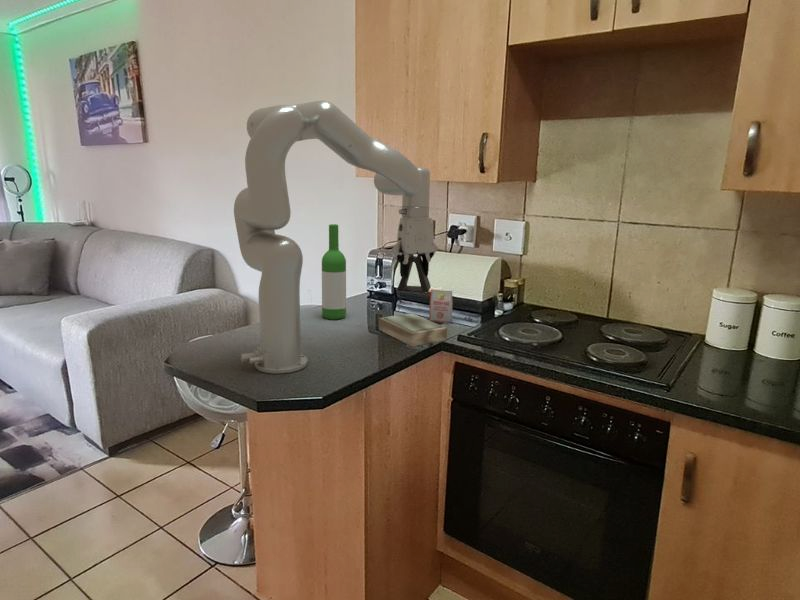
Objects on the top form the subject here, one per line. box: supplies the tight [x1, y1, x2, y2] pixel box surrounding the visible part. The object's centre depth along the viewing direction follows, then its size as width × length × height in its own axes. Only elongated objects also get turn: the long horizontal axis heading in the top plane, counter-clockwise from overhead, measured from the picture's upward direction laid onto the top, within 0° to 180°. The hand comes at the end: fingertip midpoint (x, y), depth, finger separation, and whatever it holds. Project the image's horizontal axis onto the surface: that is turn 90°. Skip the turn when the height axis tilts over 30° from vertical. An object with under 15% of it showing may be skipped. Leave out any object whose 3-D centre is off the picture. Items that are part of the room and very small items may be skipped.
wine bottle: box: [321, 224, 347, 320], centre depth 170 cm, size 8×8×30 cm
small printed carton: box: [428, 288, 454, 324], centre depth 172 cm, size 4×7×10 cm, turn 74°
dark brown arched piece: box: [396, 252, 432, 293], centre depth 152 cm, size 9×6×12 cm, turn 80°
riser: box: [378, 312, 448, 347], centre depth 156 cm, size 12×18×4 cm, turn 32°
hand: (414, 275), depth 153 cm, fingers closed on dark brown arched piece, 6 cm apart
